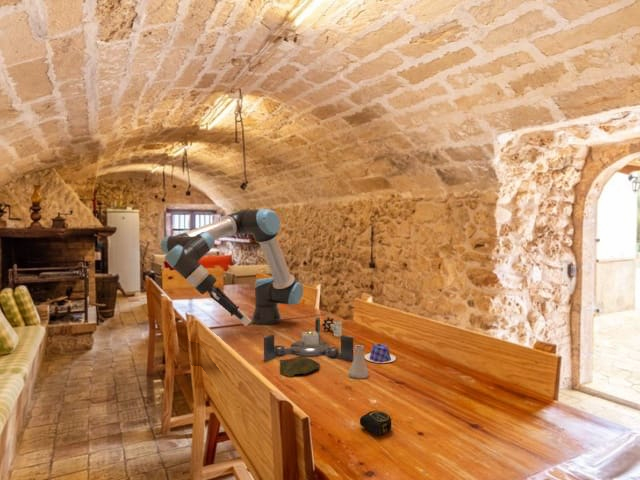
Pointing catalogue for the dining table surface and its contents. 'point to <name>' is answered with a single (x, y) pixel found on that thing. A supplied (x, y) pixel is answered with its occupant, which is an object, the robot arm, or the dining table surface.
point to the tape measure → (376, 422)
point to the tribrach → (321, 345)
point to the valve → (333, 326)
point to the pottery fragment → (297, 366)
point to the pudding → (380, 354)
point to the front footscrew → (272, 349)
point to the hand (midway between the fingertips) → (248, 323)
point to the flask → (358, 364)
